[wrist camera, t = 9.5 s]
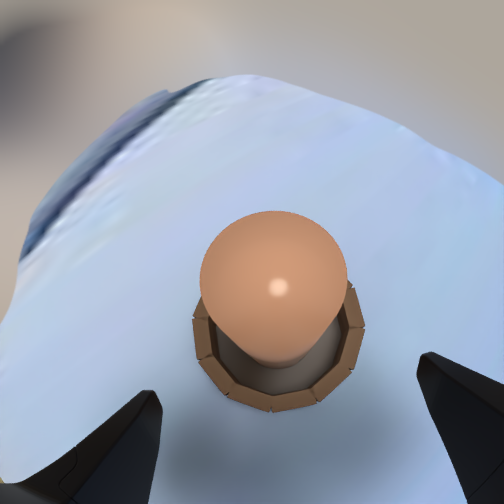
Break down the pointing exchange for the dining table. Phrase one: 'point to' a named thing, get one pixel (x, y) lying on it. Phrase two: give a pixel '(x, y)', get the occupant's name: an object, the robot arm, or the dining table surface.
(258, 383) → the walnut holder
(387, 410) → the dining table surface
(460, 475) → the robot arm
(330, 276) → the terracotta canister
